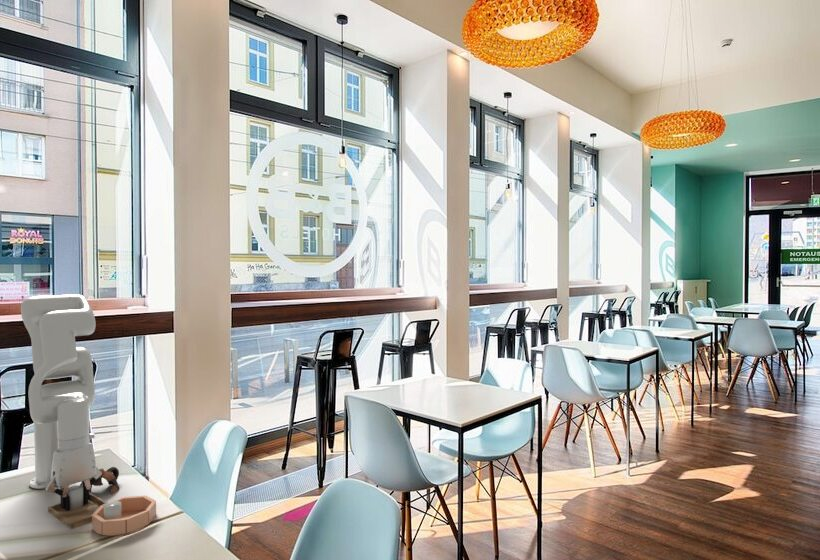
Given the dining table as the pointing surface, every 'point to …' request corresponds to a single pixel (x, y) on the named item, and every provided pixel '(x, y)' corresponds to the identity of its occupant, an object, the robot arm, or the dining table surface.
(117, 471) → the brown piece
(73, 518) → the tray
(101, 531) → the bowl
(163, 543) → the dining table surface
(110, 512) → the stone
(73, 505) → the stone
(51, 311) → the robot arm
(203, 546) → the dining table surface
